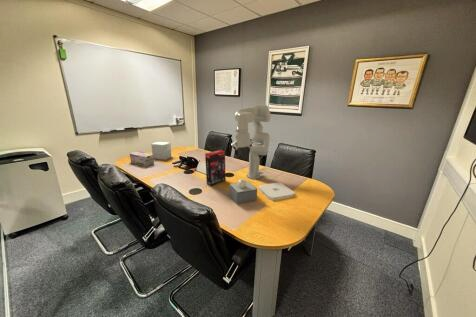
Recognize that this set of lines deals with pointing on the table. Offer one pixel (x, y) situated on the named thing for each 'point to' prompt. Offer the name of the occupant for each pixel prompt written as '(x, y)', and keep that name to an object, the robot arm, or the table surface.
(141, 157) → the surgical sutures box
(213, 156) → the graphics card box
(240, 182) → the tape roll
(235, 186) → the lid
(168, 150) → the supplement box
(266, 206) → the table surface
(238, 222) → the table surface
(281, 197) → the computer
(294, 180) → the table surface
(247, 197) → the carton
